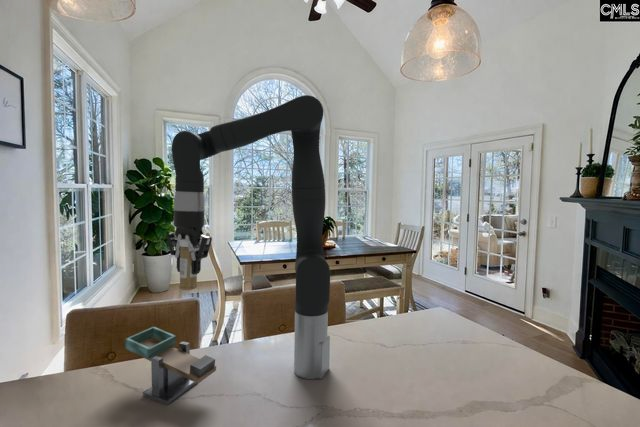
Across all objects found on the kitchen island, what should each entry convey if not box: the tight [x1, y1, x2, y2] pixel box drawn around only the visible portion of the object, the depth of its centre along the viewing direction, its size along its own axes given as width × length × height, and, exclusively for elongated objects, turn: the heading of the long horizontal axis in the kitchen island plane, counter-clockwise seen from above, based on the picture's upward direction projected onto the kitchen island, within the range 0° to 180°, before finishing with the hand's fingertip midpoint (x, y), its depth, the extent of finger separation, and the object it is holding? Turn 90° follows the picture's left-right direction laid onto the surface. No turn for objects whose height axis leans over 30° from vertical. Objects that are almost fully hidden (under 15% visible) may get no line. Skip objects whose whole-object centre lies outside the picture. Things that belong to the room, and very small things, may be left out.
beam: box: [124, 326, 217, 385], centre depth 80 cm, size 23×8×4 cm, turn 68°
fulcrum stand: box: [142, 341, 197, 406], centre depth 80 cm, size 8×10×10 cm
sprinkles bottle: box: [178, 239, 198, 291], centre depth 86 cm, size 5×5×13 cm
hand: (188, 272), depth 86 cm, fingers closed on sprinkles bottle, 4 cm apart
